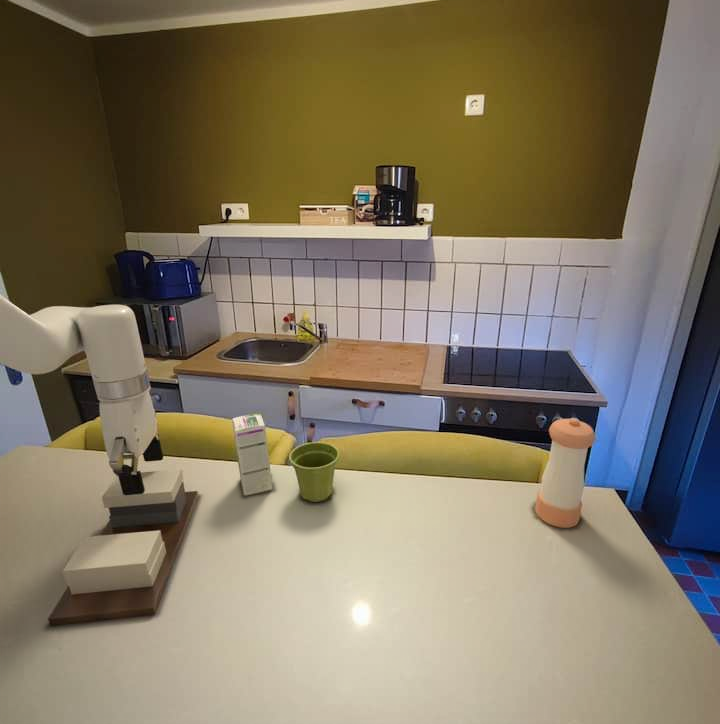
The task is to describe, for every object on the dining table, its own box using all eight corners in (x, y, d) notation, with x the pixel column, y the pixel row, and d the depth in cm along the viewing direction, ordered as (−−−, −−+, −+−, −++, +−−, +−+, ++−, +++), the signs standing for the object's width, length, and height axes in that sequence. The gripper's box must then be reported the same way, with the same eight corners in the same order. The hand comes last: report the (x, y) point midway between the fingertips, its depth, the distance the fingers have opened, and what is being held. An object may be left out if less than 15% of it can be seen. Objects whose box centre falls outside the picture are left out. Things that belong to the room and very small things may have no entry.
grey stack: (111, 527, 73) (105, 505, 71) (124, 507, 78) (118, 486, 76) (179, 522, 74) (174, 500, 73) (187, 502, 79) (183, 481, 78)
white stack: (70, 594, 60) (62, 571, 59) (91, 559, 67) (85, 536, 65) (152, 586, 62) (147, 562, 60) (166, 552, 68) (161, 530, 66)
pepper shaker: (584, 530, 73) (606, 431, 67) (540, 525, 74) (557, 428, 68) (571, 502, 80) (590, 410, 73) (531, 499, 81) (545, 408, 74)
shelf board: (49, 625, 57) (47, 619, 57) (125, 501, 81) (124, 496, 81) (155, 614, 59) (153, 607, 58) (198, 495, 83) (197, 490, 83)
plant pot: (287, 484, 86) (284, 446, 83) (332, 474, 89) (330, 438, 86) (298, 513, 78) (295, 472, 75) (346, 501, 81) (345, 462, 78)
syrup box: (273, 489, 85) (267, 424, 79) (242, 497, 83) (234, 430, 77) (268, 474, 90) (261, 411, 84) (239, 480, 88) (231, 417, 82)
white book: (104, 508, 71) (101, 497, 70) (120, 484, 77) (117, 473, 76) (173, 502, 72) (171, 491, 71) (183, 479, 78) (181, 469, 78)
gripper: (119, 366, 75) (140, 451, 81) (69, 410, 59) (99, 511, 65) (164, 364, 76) (180, 447, 82) (126, 406, 60) (150, 506, 66)
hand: (144, 475), depth 73 cm, fingers open, 9 cm apart
